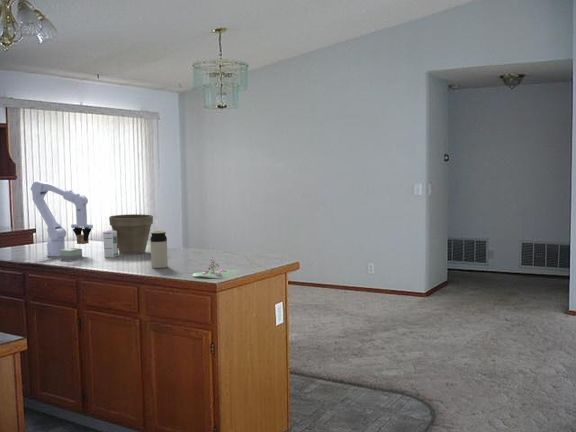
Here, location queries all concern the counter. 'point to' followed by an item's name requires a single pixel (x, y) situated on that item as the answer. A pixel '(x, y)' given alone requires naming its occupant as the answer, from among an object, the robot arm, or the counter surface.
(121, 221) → the plant pot
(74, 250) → the sage slab
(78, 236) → the walnut block
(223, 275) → the plant
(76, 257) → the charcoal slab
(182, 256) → the counter surface
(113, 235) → the syrup box
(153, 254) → the travel mug
